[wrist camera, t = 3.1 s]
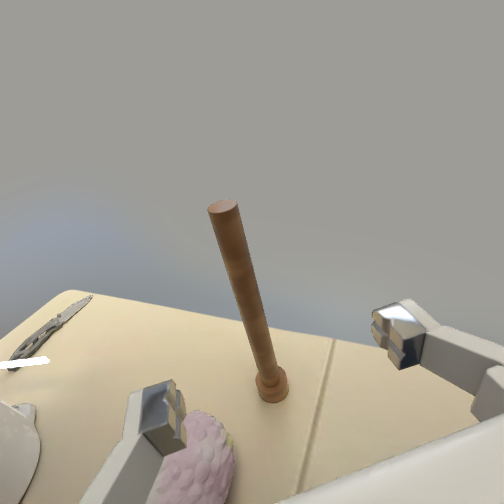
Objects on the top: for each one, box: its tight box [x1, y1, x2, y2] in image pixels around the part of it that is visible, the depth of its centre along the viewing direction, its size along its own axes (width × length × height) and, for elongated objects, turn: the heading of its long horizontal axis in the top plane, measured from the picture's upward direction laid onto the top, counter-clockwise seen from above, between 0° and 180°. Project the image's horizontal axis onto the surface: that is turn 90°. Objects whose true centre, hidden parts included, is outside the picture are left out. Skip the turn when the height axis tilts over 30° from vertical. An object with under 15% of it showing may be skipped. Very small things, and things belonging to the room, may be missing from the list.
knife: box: [6, 294, 93, 371], centre depth 50 cm, size 2×18×3 cm
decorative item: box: [145, 410, 235, 504], centre depth 24 cm, size 9×11×10 cm
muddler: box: [208, 199, 289, 403], centre depth 27 cm, size 4×4×24 cm
